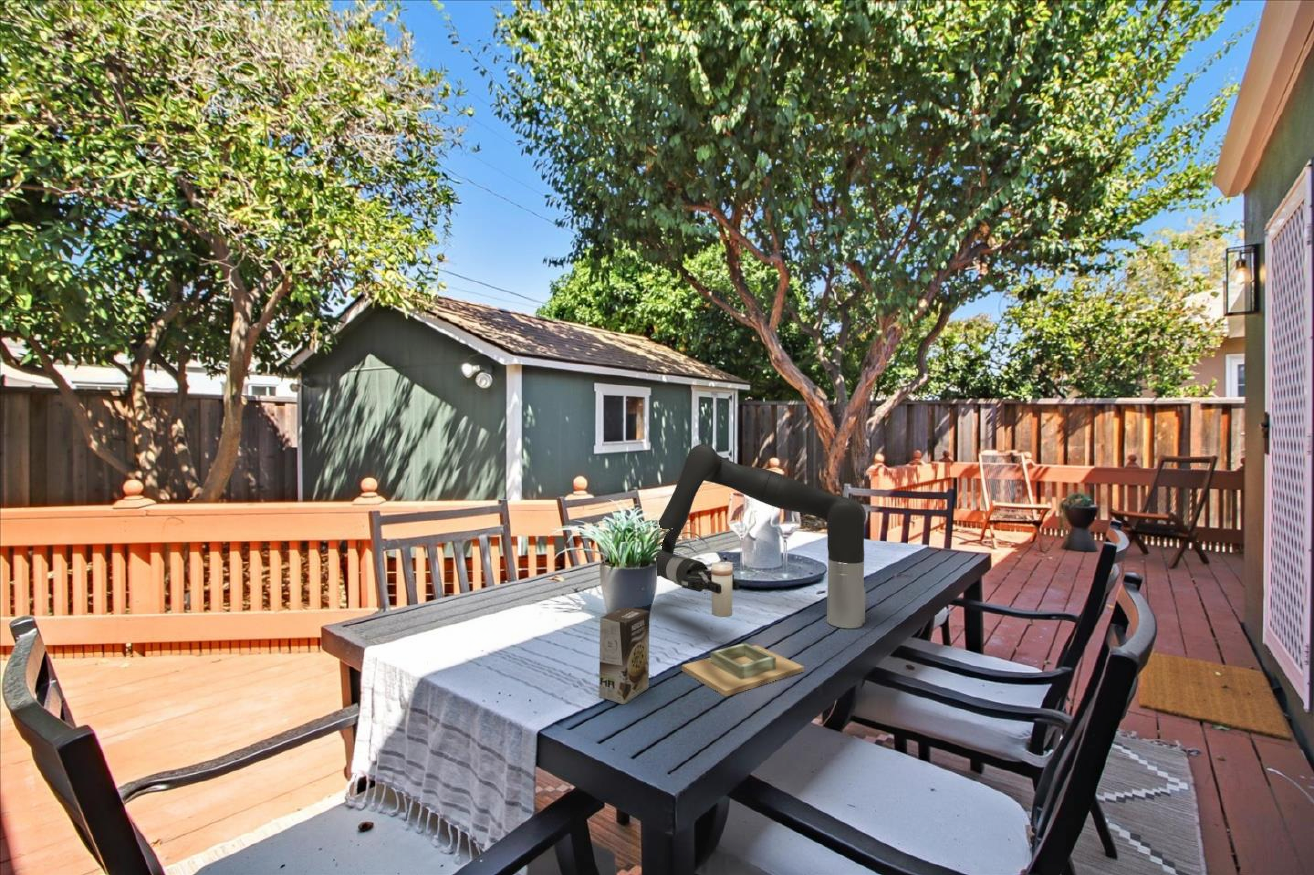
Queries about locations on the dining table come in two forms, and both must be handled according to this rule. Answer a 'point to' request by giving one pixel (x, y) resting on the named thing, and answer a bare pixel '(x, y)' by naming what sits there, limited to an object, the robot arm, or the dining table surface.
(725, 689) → the end holder
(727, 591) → the cream lidded bottle
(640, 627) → the coffee box
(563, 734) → the dining table surface
